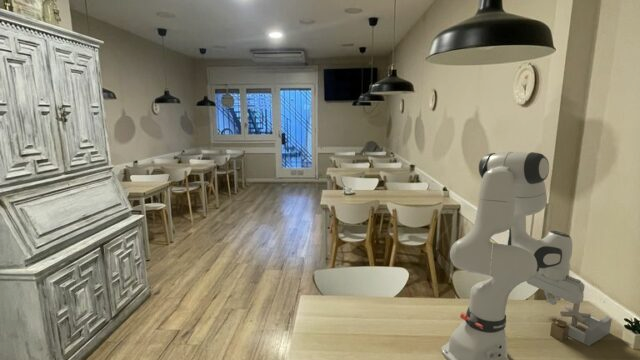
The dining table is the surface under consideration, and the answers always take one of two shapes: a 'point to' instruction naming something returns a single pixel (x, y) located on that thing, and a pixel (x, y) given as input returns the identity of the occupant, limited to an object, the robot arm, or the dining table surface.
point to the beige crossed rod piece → (575, 314)
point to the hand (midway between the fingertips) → (551, 303)
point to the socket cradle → (591, 330)
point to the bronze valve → (559, 330)
